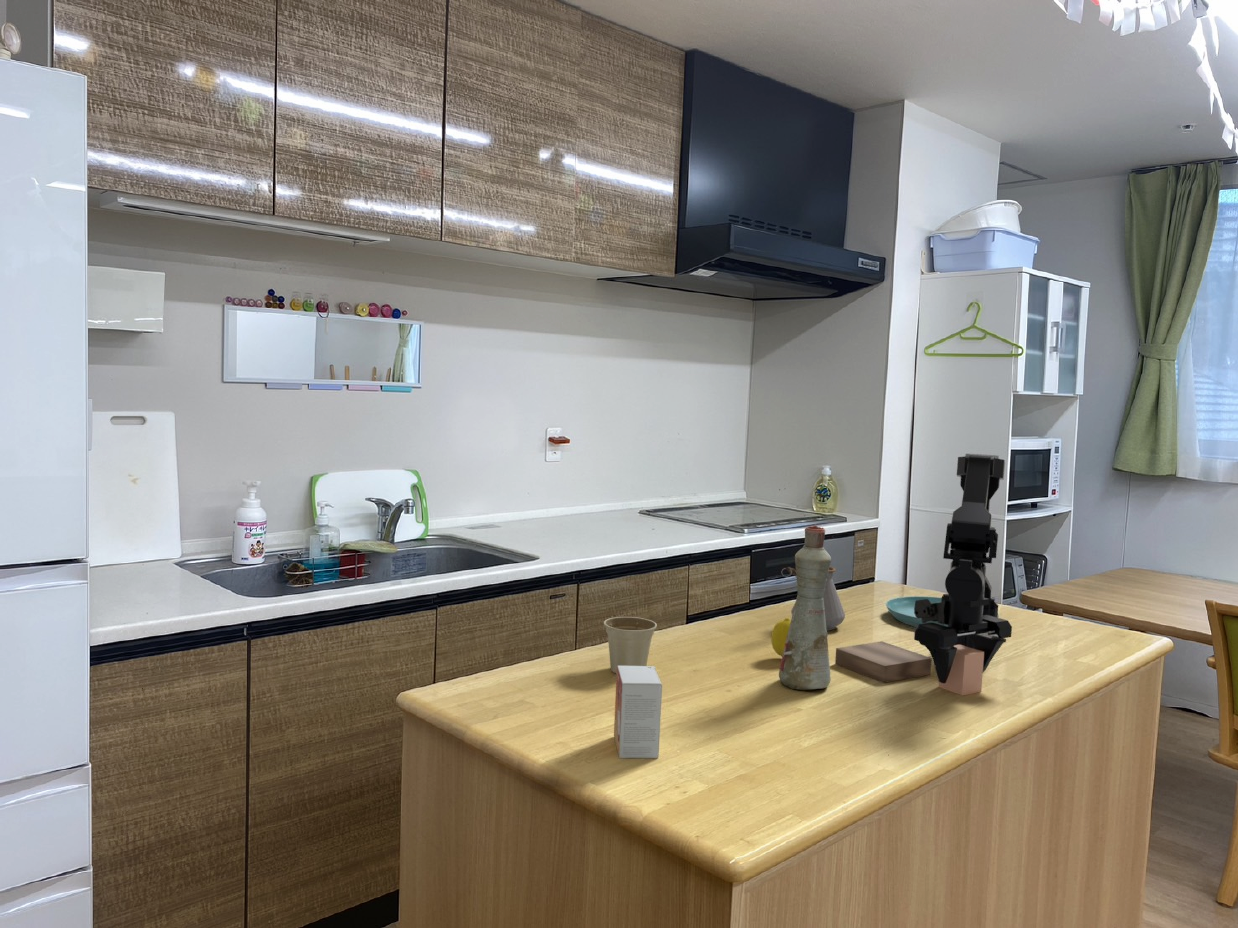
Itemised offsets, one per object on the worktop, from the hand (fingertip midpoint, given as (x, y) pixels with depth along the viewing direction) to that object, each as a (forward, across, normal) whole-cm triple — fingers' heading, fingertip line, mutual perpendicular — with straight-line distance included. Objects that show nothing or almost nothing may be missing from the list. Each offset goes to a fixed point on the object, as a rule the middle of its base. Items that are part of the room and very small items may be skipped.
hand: (960, 679), depth 157 cm
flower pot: (+2, +48, -32) cm, 58 cm away
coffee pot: (+2, -2, -41) cm, 41 cm away
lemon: (+2, +17, -26) cm, 31 cm away
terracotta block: (+2, 0, 0) cm, 2 cm away
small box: (+2, +65, -2) cm, 65 cm away
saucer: (+2, -37, -35) cm, 51 cm away
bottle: (+2, +24, -13) cm, 27 cm away
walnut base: (+2, +4, -14) cm, 15 cm away
